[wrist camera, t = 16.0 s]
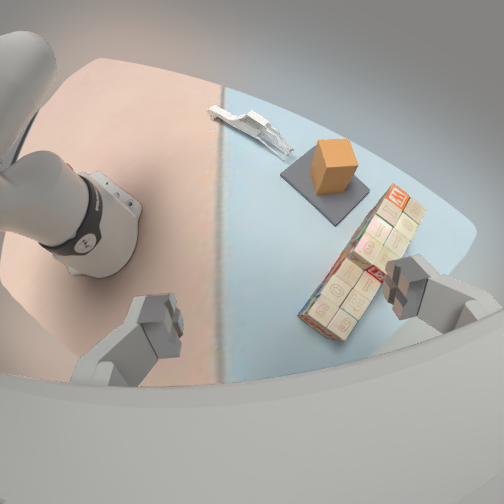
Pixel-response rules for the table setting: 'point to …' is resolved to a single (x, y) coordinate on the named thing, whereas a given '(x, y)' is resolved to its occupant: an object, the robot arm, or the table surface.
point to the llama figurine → (250, 126)
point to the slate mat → (326, 204)
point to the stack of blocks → (363, 265)
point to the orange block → (332, 166)
